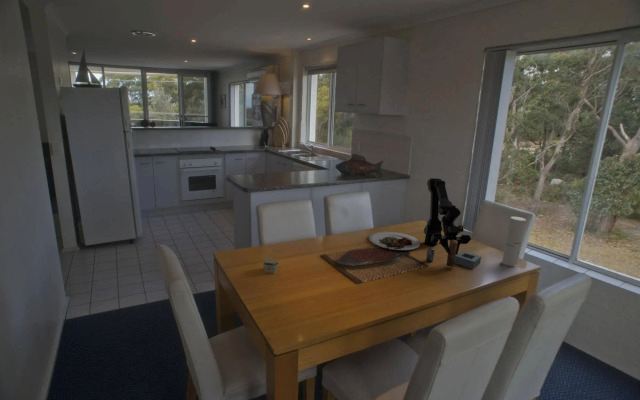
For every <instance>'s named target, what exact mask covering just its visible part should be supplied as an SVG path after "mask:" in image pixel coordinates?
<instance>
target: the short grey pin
mask: <svg viewBox="0 0 640 400" xmlns="http://www.w3.org/2000/svg"><path fill="white" fill-rule="evenodd" d="M426 249H427V250H426V257H425V261H426V262H427V263H433V262H434V256H435V248H433V247H432V246H430V247H429V246H428V247H427V248H426Z"/></svg>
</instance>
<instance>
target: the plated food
mask: <svg viewBox="0 0 640 400" xmlns="http://www.w3.org/2000/svg"><path fill="white" fill-rule="evenodd" d="M368 240H369V241H370V242H371V243H372V244H373V245H375V246H378V247H381V248H384V249H387V248H388V247H389V248H388V250H394V251H412V250H416V249H418V248H420V246H421V241H420V240H419V239H417V238H416V237H414V236H412V235H409V234H406V233H403V232H395V231H379V232H378V231H377V232H373V233H371V234H370V235H369V236H368ZM393 247H398V248H401V249H394V248H393Z"/></svg>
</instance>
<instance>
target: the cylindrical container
mask: <svg viewBox="0 0 640 400" xmlns="http://www.w3.org/2000/svg"><path fill="white" fill-rule="evenodd" d="M526 222H527V218H524V217H521V216H520V217H519V216H510V219H509V223H508V228H507V234H506V240H505V244H504V250H503V254H502V261H501V263H502V264H504V265H506V266H509V265H510V266H511V267H516V266H515V265H517V266H518V262H519V257H520V251H521V247H522V242H523V237H524V232H525V226H526Z"/></svg>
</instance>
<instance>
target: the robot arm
mask: <svg viewBox="0 0 640 400" xmlns="http://www.w3.org/2000/svg"><path fill="white" fill-rule="evenodd" d="M426 185H427V191H429V193H430V207H429V208H430V209H429V210H430V211H429V219H428V221H426V225H425V227H424V228H423V233H424V235H425V237H424V242H423V245H427V246H430V247H435V246H437V245H438V244H439V245H441V247H442V248H443V249H444V251H445V252H446V253H447V255H448V254H450V251H449V241H450V240H456V241H458V243H457V249H456V255H457V254H458V253H459V249H460V246H461V245H468V243H469V242H470V241H471V240H472V238H471V236H470V234H461V233H462V232H464V224H463V225H462V224H459V225H457V226H456V225H455V222H456V221H457V219H458V218H459V217H460V215H461V210H460V209H459V208H458V207H457V206H456V205H454V204H453V202H452V201H450V199H449V196H448V193H447V188H446V181H445V180H443V179H441V178H434V177H433V178H430V177H429V179H428V180H427V184H426ZM439 215H440V216H442V217H441V220H440V219H439ZM442 233H443V234H442ZM459 234H461V235H460V236H458V235H459Z"/></svg>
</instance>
